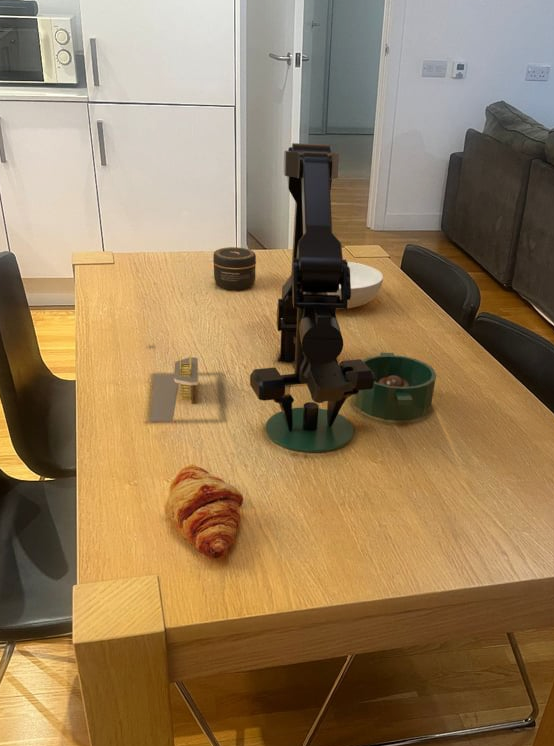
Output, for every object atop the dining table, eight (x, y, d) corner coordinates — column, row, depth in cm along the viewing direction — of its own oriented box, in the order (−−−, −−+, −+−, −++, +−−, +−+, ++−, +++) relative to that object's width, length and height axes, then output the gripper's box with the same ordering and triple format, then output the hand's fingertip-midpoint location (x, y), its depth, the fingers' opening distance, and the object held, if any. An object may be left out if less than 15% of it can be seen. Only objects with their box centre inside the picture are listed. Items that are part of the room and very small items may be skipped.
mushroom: (374, 406, 131) (377, 380, 128) (378, 393, 135) (381, 368, 132) (404, 410, 130) (408, 384, 127) (407, 397, 134) (411, 371, 131)
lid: (266, 455, 116) (267, 426, 113) (264, 412, 128) (265, 385, 125) (358, 456, 117) (361, 427, 114) (348, 413, 129) (350, 386, 126)
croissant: (171, 501, 111) (142, 462, 106) (230, 465, 111) (203, 425, 106) (200, 591, 94) (167, 551, 89) (270, 550, 94) (240, 507, 89)
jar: (219, 276, 185) (218, 244, 181) (259, 280, 184) (259, 248, 180) (209, 289, 177) (208, 256, 173) (251, 293, 176) (251, 260, 172)
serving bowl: (396, 300, 177) (399, 271, 173) (352, 326, 162) (354, 295, 158) (320, 281, 186) (322, 253, 182) (272, 304, 171) (272, 274, 167)
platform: (149, 421, 123) (147, 385, 120) (154, 374, 138) (152, 340, 134) (223, 420, 125) (223, 384, 121) (220, 373, 140) (219, 340, 136)
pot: (360, 431, 124) (364, 395, 120) (347, 381, 140) (350, 348, 136) (440, 431, 125) (446, 396, 121) (419, 382, 141) (424, 349, 137)
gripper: (270, 363, 104) (268, 460, 113) (394, 351, 110) (382, 444, 118) (249, 333, 113) (248, 425, 122) (364, 323, 118) (356, 412, 127)
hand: (309, 427), depth 122 cm, fingers open, 6 cm apart
